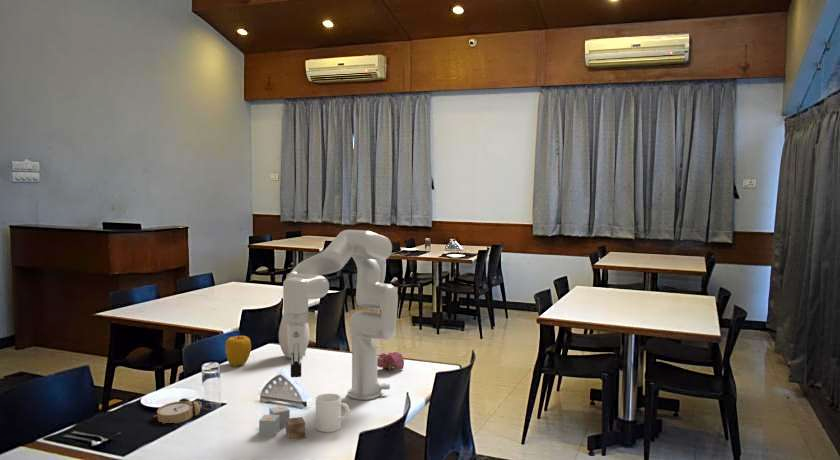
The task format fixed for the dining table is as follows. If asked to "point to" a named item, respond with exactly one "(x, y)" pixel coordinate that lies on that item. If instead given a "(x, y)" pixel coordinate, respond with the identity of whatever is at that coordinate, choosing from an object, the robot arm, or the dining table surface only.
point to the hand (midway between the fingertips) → (295, 376)
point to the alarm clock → (178, 411)
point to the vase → (284, 338)
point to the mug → (329, 412)
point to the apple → (238, 350)
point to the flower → (391, 361)
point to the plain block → (295, 428)
